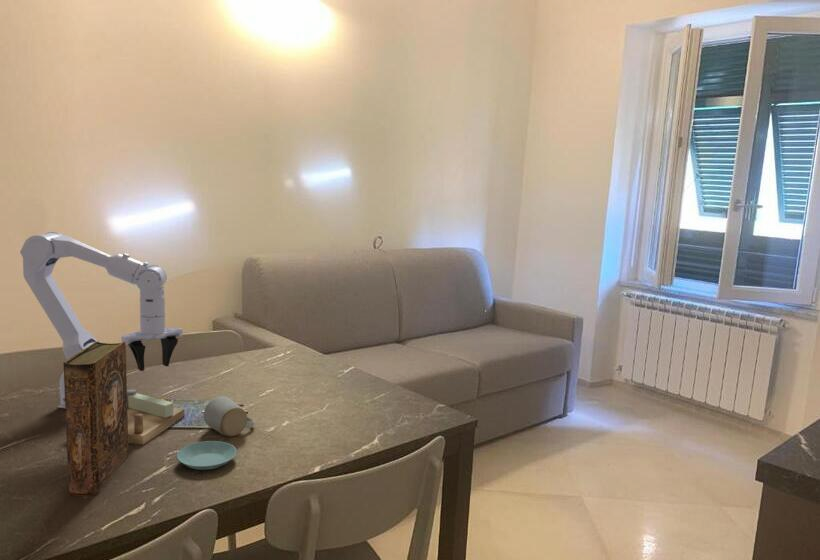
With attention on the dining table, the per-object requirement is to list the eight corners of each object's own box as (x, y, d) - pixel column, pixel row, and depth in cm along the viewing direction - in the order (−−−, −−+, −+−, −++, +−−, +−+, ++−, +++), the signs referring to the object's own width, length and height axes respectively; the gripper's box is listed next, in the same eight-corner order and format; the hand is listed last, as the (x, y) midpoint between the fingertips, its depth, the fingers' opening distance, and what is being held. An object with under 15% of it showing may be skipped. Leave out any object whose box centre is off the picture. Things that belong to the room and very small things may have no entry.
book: (96, 496, 116) (92, 365, 111) (65, 496, 115) (60, 364, 111) (128, 456, 132) (125, 340, 128) (101, 456, 131) (97, 340, 127)
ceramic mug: (220, 442, 141) (221, 409, 140) (202, 430, 146) (203, 399, 145) (261, 430, 148) (262, 399, 147) (242, 420, 154) (243, 390, 153)
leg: (120, 406, 153) (120, 392, 152) (130, 402, 155) (130, 388, 155) (164, 418, 147) (164, 404, 146) (174, 414, 149) (174, 400, 149)
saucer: (246, 455, 136) (246, 445, 135) (218, 480, 124) (218, 469, 124) (197, 447, 138) (197, 437, 138) (165, 471, 127) (165, 460, 126)
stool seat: (74, 435, 140) (73, 409, 139) (121, 408, 157) (121, 385, 156) (143, 444, 137) (142, 418, 136) (184, 416, 154) (184, 393, 153)
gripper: (129, 321, 149) (130, 377, 151) (187, 314, 159) (188, 366, 161) (117, 316, 153) (119, 369, 156) (175, 309, 164) (176, 359, 166)
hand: (153, 367), depth 159 cm, fingers open, 6 cm apart
